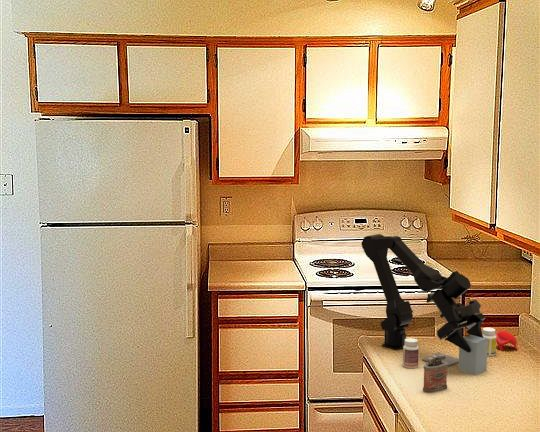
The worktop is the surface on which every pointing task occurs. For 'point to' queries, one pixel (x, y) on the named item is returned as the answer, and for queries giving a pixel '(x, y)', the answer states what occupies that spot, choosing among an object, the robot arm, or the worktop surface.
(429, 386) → the lighter
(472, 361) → the cover
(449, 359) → the coaster
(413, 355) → the pill bottle
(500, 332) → the red plastic curved piece
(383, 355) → the worktop surface
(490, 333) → the supplement bottle
